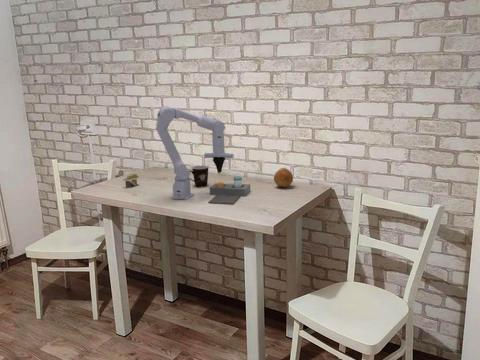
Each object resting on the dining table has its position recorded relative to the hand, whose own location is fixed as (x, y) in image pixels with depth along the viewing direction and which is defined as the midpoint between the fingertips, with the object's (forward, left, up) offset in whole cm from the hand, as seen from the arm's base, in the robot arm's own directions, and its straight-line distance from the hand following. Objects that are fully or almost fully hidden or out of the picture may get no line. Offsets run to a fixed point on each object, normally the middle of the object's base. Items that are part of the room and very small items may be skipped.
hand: (219, 172), depth 226 cm
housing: (0, -5, -10) cm, 12 cm away
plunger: (0, 0, -10) cm, 10 cm away
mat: (-13, -6, -10) cm, 18 cm away
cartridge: (0, -9, -10) cm, 14 cm away
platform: (+4, +51, -11) cm, 52 cm away
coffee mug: (+11, +16, -11) cm, 22 cm away
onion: (+15, -29, -11) cm, 34 cm away
